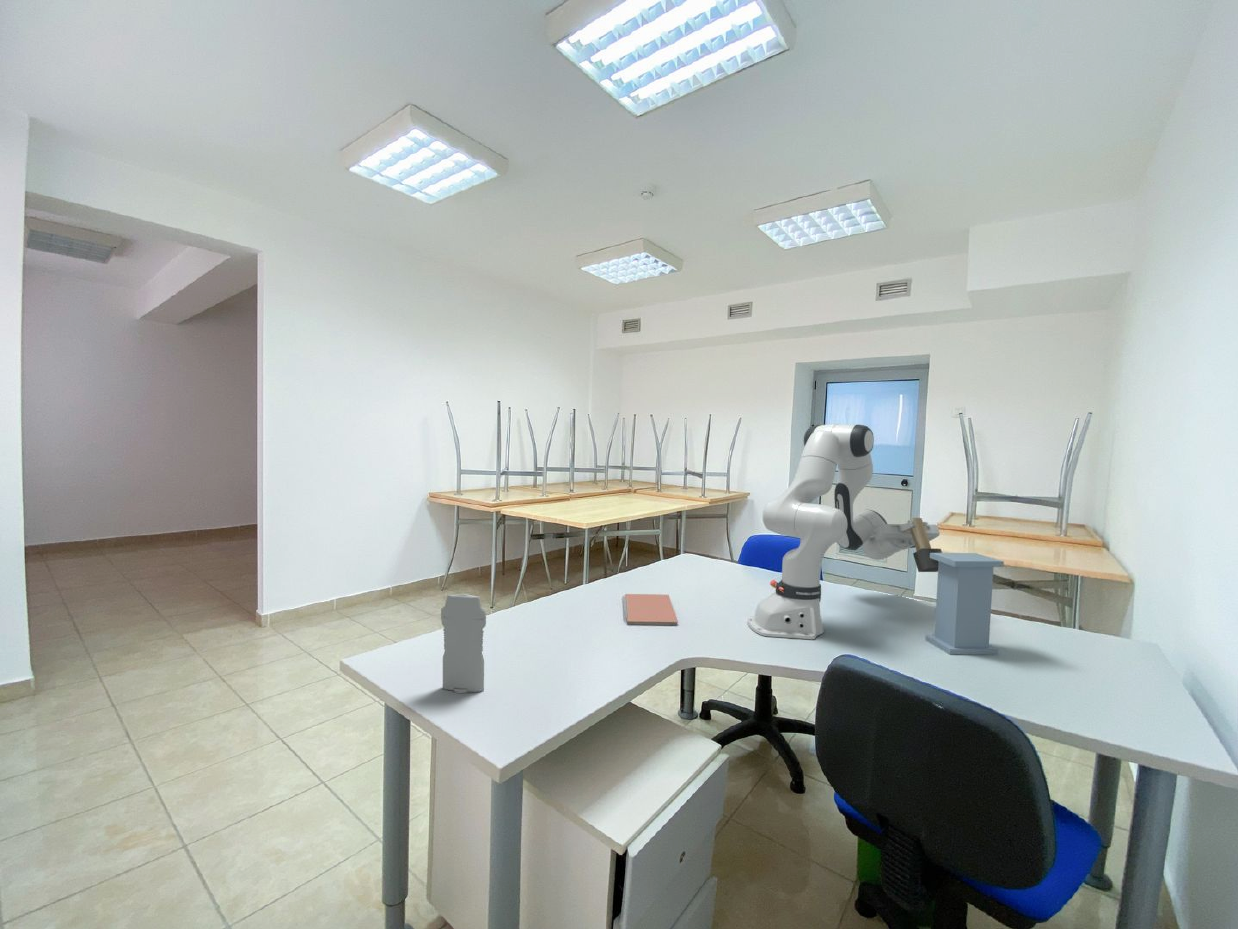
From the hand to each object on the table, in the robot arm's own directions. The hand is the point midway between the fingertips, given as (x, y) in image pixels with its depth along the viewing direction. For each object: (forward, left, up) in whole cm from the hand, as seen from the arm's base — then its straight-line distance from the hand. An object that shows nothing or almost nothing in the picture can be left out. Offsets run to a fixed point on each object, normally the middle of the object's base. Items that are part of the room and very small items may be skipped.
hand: (919, 524), depth 162 cm
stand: (0, -20, -32) cm, 38 cm away
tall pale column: (-135, -41, -32) cm, 144 cm away
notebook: (-86, +11, -33) cm, 93 cm away
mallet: (0, 0, -7) cm, 7 cm away
